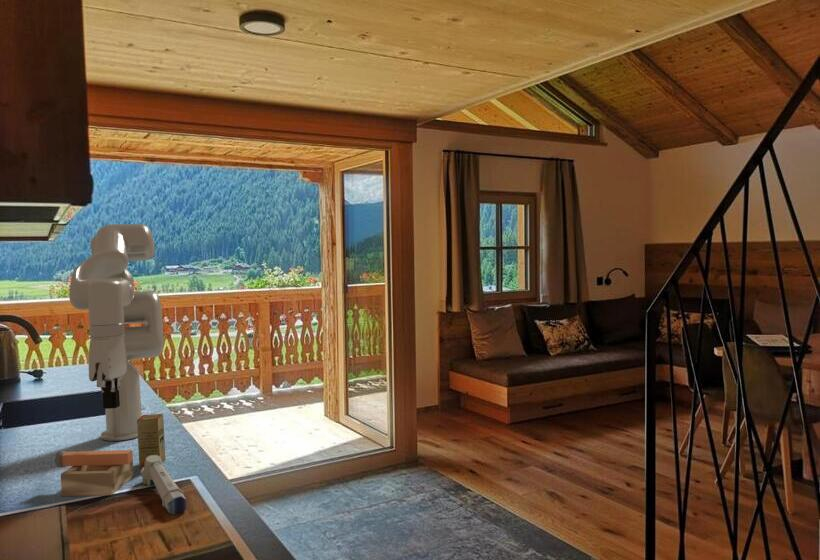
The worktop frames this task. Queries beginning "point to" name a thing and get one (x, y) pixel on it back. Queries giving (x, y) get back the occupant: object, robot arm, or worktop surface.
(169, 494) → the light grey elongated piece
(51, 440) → the worktop surface
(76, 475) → the socket
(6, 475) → the worktop surface
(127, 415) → the robot arm
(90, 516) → the worktop surface
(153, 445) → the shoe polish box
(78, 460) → the bar
